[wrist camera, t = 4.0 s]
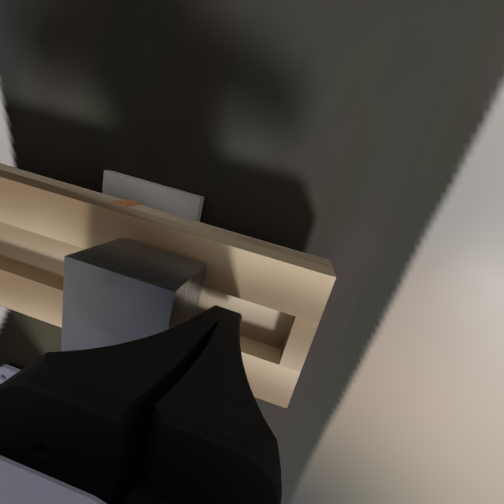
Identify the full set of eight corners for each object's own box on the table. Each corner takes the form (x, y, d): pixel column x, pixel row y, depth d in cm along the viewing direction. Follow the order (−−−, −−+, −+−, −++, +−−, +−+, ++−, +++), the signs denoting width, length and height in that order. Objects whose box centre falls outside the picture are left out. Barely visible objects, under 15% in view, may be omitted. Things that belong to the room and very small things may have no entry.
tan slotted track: (286, 364, 17) (280, 423, 13) (8, 269, 19) (-73, 294, 15) (332, 233, 15) (344, 254, 10) (4, 140, 17) (-96, 127, 13)
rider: (195, 344, 14) (153, 409, 10) (126, 320, 14) (59, 373, 10) (215, 256, 12) (174, 292, 8) (136, 232, 13) (64, 255, 9)
